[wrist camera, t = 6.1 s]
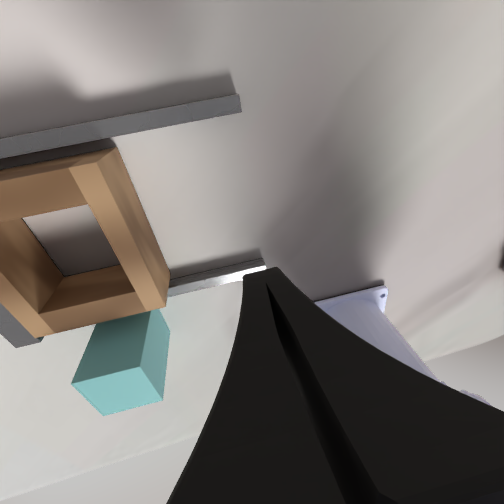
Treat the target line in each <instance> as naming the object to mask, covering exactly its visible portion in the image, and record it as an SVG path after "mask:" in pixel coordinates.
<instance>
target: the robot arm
mask: <svg viewBox="0 0 504 504" xmlns="http://www.w3.org/2000/svg"><path fill="white" fill-rule="evenodd" d="M242 280H243V295H242V305H241V311H240V318H239V323H238V327H237V332H236V336H235V341H234V344H233V348H232V352H231V355H230V358H229V362H228V365H227V368H226V371H225V374H224V377H223V379H222V382H221V385H220V388H219V391H218V393H217V396H216V399H215V401H214V404H213V406H212V409H211V411H210V413H209V415H208V418H207V420H206V422H205V425H204V427H203V429H202V431H201V434H200V436H199V438H198V441H197V443H196V445H195V447H194V449H193V451H192V454H191V456H190V458H189V460H188V462H187V464H186V466H185V468H184V470H183V472H182V474H181V476H180V478H179V480H178V482H177V484H176V486H175V488H174V490H173V492H172V494H171V495H170V497H169V500H168V502H167V503H166V504H504V412H503V411H501V410H499V409H497V408H495V407H492V406H491V405H490V404H489V403H488V402H487V401H486V400H485V399H484V398H482V397H481V396H479V395H476V394H473V393H469V392H467V391H466V390H461V391H457V390H455V389H452V388H450V387H448V386H447V385H446V384H445V383H444V382H442V381H441V382H440V381H439V380H438V379H437V377H436V376H435V375H434V374H433V373H432V371H431V370H430V369H429V368H428V366H427V365H426V364H425V363H424V362H423V360H422V359H421V358H420V357H419V356H418V354H417V353H416V352H415V351H414V350H413V348H412V347H411V346H410V345H409V344H408V342H407V341H406V340H405V339H404V337H403V336H402V335H401V334H400V333H399V331H398V330H397V329H396V328H395V327H394V325H393V324H392V323H391V322H390V321H389V319H388V318H387V317H386V316H385V315H384V310H385V305H386V300H387V294H388V288H387V287H386V286H384V285H382V286H378V287H374V288H370V289H366V290H362V291H358V292H354V293H350V294H346V295H342V296H338V297H334V298H330V299H325V300H321V301H317V302H313V301H312V300H310V299H309V298H308V297H307V296H306V295H305V294H304V293H303V292H301V291H300V290H299V289H298V288H297V287H296V286H295V285H294V284H293V283H292V282H291V281H290V280H289V279H288V278H287V277H286V276H285V275H284V273H283V272H282V271H281V270H280V269H279V268H277V267H273V268H269V269H265V270H260V271H256V272H252V273H248V274H244V275H243V277H242Z"/></svg>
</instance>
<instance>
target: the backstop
mask: <svg viewBox="0 0 504 504" xmlns="http://www.w3.org/2000/svg"><path fill="white" fill-rule="evenodd" d="M239 112H242V111H241V104H240V98H239V94H234V95H229V96H223V97H218V98H213V99H207V100H202V101H197V102H191V103H186V104H181V105H175V106H170V107H165V108H159V109H154V110H149V111H143V112H138V113H133V114H128V115H122V116H117V117H112V118H106V119H101V120H96V121H90V122H85V123H80V124H74V125H69V126H64V127H58V128H53V129H48V130H42V131H37V132H32V133H27V134H21V135H16V136H11V137H5V138H0V159H1V158H6V157H11V156H17V155H22V154H27V153H32V152H37V151H42V150H48V149H53V148H58V147H63V146H68V145H74V144H79V143H84V142H89V141H94V140H99V139H105V138H110V137H115V136H120V135H125V134H131V133H136V132H141V131H146V130H151V129H156V128H162V127H167V126H172V125H177V124H182V123H187V122H193V121H198V120H203V119H208V118H213V117H219V116H224V115H229V114H234V113H239ZM265 269H266V266H265V263H264V260H263V258H261V259H257V260H253V261H248V262H244V263H240V264H235V265H231V266H227V267H223V268H218V269H214V270H210V271H205V272H201V273H197V274H192V275H188V276H184V277H180V278H175V279H171V280H169V287H168V294H167V297H171V296H175V295H180V294H184V293H188V292H192V291H197V290H201V289H205V288H209V287H213V286H218V285H222V284H226V283H230V282H234V281H239V280H242V277H243V275H244V274H248V273H252V272H256V271H260V270H265ZM0 334H1V335H2V336H4V337H5V338H6V339H7V340H8V341H9V342H10V343H11V344H12V345H13V346H14V347H15V348H18V347H22V346H26V345H31V344H35V343H39V342H41V341H42V339H43V338H44V336H42V337H38V338H34V337H33V336H32V335H31V334H30V333H29V332H28V331H27V330H26V328H25V327H24V326H23V325H22V324H21V323H20V322H19V321H18V320H17V319H16V318H15V317H14V316H13V315H12V314H11V313H10V312H9V311H8V310H7V309H6V308H5V307H4V306H3V305H2V304H1V303H0Z"/></svg>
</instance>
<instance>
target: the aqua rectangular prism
mask: <svg viewBox="0 0 504 504" xmlns="http://www.w3.org/2000/svg"><path fill="white" fill-rule="evenodd" d="M169 337H170V330H169V328H168V326H167V324H166V322H165V320H164V318H163V316H162V314H161V312H160V310H159V309H155V310H151V311H147V312H142V313H138V314H134V315H130V316H126V317H122V318H117V319H113V320H109V321H105V322H101V323H97V324H96V326H95V328H94V330H93V333H92V335H91V338H90V340H89V342H88V345H87V347H86V349H85V352H84V354H83V357H82V359H81V361H80V364H79V366H78V368H77V371H76V373H75V376H74V378H73V380H72V383H71V385H72V386H73V387H74V388H75V389H76V390H77V391H78V392H79V393H80V394H81V395H82V396H83V397H84V398H85V399H86V400H87V401H88V402H89V403H90V404H91V405H92V406H93V407H94V408H95V409H96V410H97V411H99V412H100V413H101V414H102V415H103V416H105V415H109V414H113V413H117V412H121V411H124V410H128V409H132V408H136V407H140V406H143V405H147V404H151V403H155V402H159V401H162V400H163V394H164V385H165V375H166V366H167V356H168V347H169Z"/></svg>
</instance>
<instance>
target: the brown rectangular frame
mask: <svg viewBox="0 0 504 504" xmlns="http://www.w3.org/2000/svg"><path fill="white" fill-rule="evenodd" d="M86 204H88V205H89V207H90V209H91V210H92V212H93V214H94V216H95V218H96V220H97V221H98V223H99V225H100V227H101V229H102V231H103V232H104V234H105V236H106V238H107V240H108V242H109V243H110V245H111V247H112V249H113V251H114V253H115V254H116V256H117V258H118V260H119V262H120V264H121V265H116V266H112V267H108V268H103V269H99V270H94V271H90V272H85V273H81V274H77V275H72V276H68V277H64V276H63V275H62V274H61V272H60V271H59V270H58V268H57V267H56V265H55V264H54V263H53V261H52V260H51V258H50V257H49V256H48V254H47V253H46V252H45V250H44V249H43V247H42V246H41V245H40V243H39V242H38V241H37V239H36V238H35V236H34V235H33V234H32V232H31V231H30V229H29V228H28V227H27V225H26V224H25V223H24V221H23V220H22V218H23V217H28V216H33V215H38V214H43V213H47V212H52V211H57V210H62V209H67V208H71V207H76V206H81V205H86ZM169 280H170V272H169V269H168V267H167V264H166V262H165V260H164V257H163V255H162V253H161V250H160V248H159V246H158V243H157V241H156V238H155V236H154V234H153V231H152V229H151V227H150V224H149V222H148V219H147V217H146V215H145V212H144V210H143V208H142V205H141V203H140V201H139V198H138V196H137V193H136V191H135V189H134V186H133V184H132V182H131V179H130V177H129V174H128V172H127V170H126V167H125V165H124V163H123V160H122V158H121V156H120V153H119V151H118V148H117V147H114V148H109V149H104V150H99V151H94V152H89V153H84V154H79V155H74V156H68V157H63V158H58V159H53V160H48V161H43V162H38V163H33V164H28V165H22V166H17V167H12V168H7V169H2V170H0V303H1V304H2V305H3V306H4V307H5V308H6V309H7V310H8V311H9V312H10V313H11V314H12V315H13V316H14V317H15V318H16V319H17V320H18V321H19V322H20V323H21V324H22V325H23V326H24V327H25V328H26V330H27V331H28V332H29V333H30V334H31V335H32V336H33V337H34V338H38V337H42V336H46V335H51V334H55V333H59V332H63V331H67V330H72V329H76V328H80V327H84V326H88V325H92V324H97V323H101V322H105V321H109V320H113V319H117V318H122V317H126V316H130V315H134V314H138V313H142V312H147V311H151V310H155V309H159V308H163V307H166V301H167V294H168V287H169Z"/></svg>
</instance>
